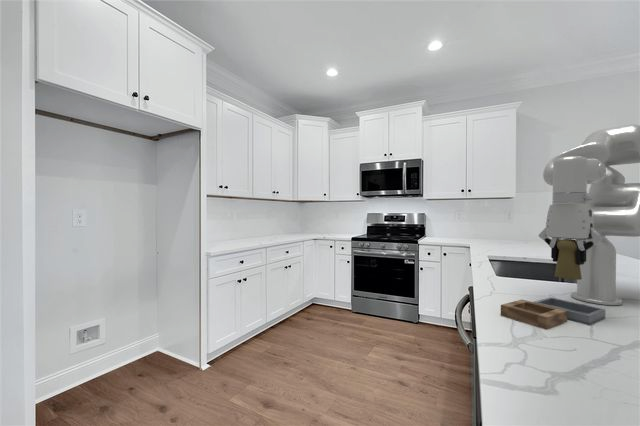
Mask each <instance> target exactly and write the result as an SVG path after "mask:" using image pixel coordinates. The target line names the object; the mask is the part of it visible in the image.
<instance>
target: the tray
mask: <svg viewBox="0 0 640 426" xmlns="http://www.w3.org/2000/svg"><path fill="white" fill-rule="evenodd" d="M533 302H534V303H538V304H542V305H546V306H551V307H555V308H559V309H563V310H567V321H571V322H576V323H580V324H582V325H587V326H591V325H593V324H596V323H598V322H600V321H603V320H605V319H606V309H605V308H604V309H603V308H601V307H595V306H591V305H587V304H581V303H577V302H574V301H569V300H563V299H558V298H555V297H547V298H544V299H543V298H542V299H539V300H536V301H533Z"/></svg>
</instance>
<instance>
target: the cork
mask: <svg viewBox="0 0 640 426" xmlns="http://www.w3.org/2000/svg"><path fill="white" fill-rule="evenodd" d="M557 248H558V249H559V254H558V259H557V262H556V264H555V270H554V277H556V278H560V279H565V280H576V281H577V280H581V279H582V277H581V270H580V265H577V264H576V251H577V250H578V248H579V247H578V244H577V241H576V239H561V240H559V241H558V242H557Z"/></svg>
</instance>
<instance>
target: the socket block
mask: <svg viewBox="0 0 640 426" xmlns="http://www.w3.org/2000/svg"><path fill="white" fill-rule="evenodd" d="M534 302H535V301H531V300H525V299H518V300H514V301H509V302H506V303H502V304H500V316H501V317H505V318H508V319H511V320H514V321H518V322H522V323H525V324H528V325H531V326H533V327H537V328H540V329H543V328H544V330H549V329H551V328H554V327H557V326H559V325H562V324H565V323H567V322H568V320H567V310H563V309H559V308H555V307H551V306H546V305H542V304H538V303H534Z"/></svg>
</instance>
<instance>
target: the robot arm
mask: <svg viewBox="0 0 640 426" xmlns="http://www.w3.org/2000/svg"><path fill="white" fill-rule="evenodd" d="M630 164H640V125H639V124H627V125H621V126H615V127H609V128H604V129H600V130H596V131H594V132H591V134H589V135H588V136H587V137H586V138H585V140H584V141H582V142H581V144H580V145H578V146H576V147H573V148H571V149H569V150H566V151H564V152H561V153H559V154H557V155H555V156H554V157H552V158H551V159H550V160H549V161H548V162H547V164H546V165H545V167H544V169H543V174H542V175H543V180H544V182H545V183H546V184H547V185H549V186H552V204H549V207H548V210H547V214H546V221H545V228H544V229H543V230H541V232H540V233H539V234H538V237H539V238H540V239H542V240H543V241H544V242H545V243H546V244H547V245H548V247H550V248H551V251H550V253H551V254H550V257H551V259H552V262H555V263H557V259H558V254H559V249H558V248H557V242H558V241H559V240H561V239H572V240H576V241H577V244H578V247H579V248H578V250H577V251H576V264H577V265H580V270H581V277H582V279H581V280H576V291H572V292H570V296H571V298H573V299H576V300H578V301H582V302H586V303H590V304H591V303H592V304H595V305H604V306H605V305H606V306H621V305H623V300H622V299H621V298H618V297H616V296H617V294H616V293H617V291H616V290H617V289H616V288H617V287H616V285H617V249H616V247H615V245H614V244H613V243H612V242H611V241H610V240H609V239H608V238H607V236H608V237H611V236H612V237H628V238H629V237H631V238H634V237H636V238H637V237H640V182H626V179H625V176H624V175H623V174H622V173H621V172H620V171H618V170H617V169H615V168H613V167H611V166H620V165H622V166H623V165H630ZM588 185H590V187H589V189H588Z"/></svg>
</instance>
